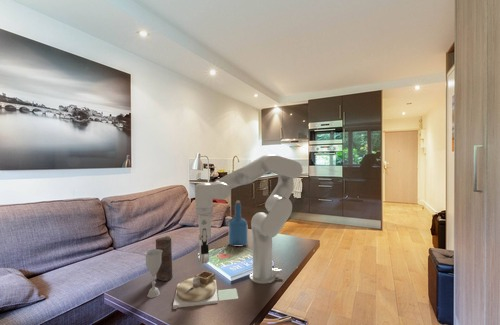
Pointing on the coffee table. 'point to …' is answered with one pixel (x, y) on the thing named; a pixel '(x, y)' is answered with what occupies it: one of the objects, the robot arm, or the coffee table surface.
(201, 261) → the small glass bottle
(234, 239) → the wine bottle
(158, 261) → the chalice
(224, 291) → the pad
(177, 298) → the dial base
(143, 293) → the coffee table surface
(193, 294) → the dial
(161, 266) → the candle
